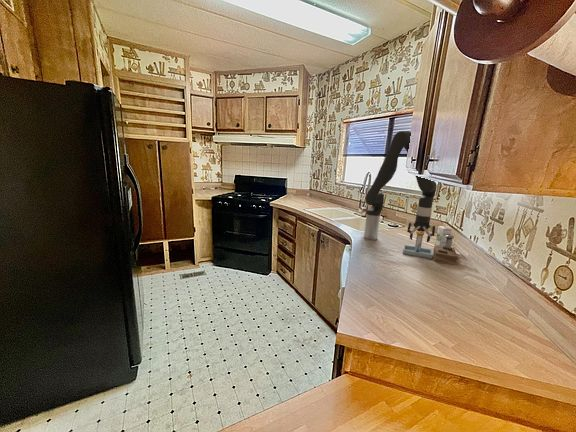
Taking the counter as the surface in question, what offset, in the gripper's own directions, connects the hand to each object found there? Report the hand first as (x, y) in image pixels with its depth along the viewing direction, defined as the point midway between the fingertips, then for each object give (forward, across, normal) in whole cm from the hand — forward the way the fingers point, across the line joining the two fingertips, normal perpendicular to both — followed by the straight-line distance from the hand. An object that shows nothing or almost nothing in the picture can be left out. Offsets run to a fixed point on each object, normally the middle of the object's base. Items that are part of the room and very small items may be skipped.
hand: (419, 240), depth 147 cm
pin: (+8, -16, -4) cm, 18 cm away
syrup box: (+8, -14, -19) cm, 25 cm away
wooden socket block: (+8, -14, 0) cm, 16 cm away
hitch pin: (+8, 0, 0) cm, 8 cm away
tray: (+8, 0, 0) cm, 8 cm away
